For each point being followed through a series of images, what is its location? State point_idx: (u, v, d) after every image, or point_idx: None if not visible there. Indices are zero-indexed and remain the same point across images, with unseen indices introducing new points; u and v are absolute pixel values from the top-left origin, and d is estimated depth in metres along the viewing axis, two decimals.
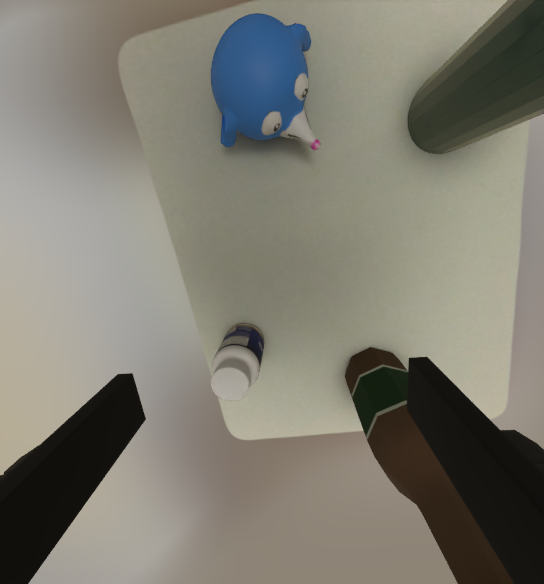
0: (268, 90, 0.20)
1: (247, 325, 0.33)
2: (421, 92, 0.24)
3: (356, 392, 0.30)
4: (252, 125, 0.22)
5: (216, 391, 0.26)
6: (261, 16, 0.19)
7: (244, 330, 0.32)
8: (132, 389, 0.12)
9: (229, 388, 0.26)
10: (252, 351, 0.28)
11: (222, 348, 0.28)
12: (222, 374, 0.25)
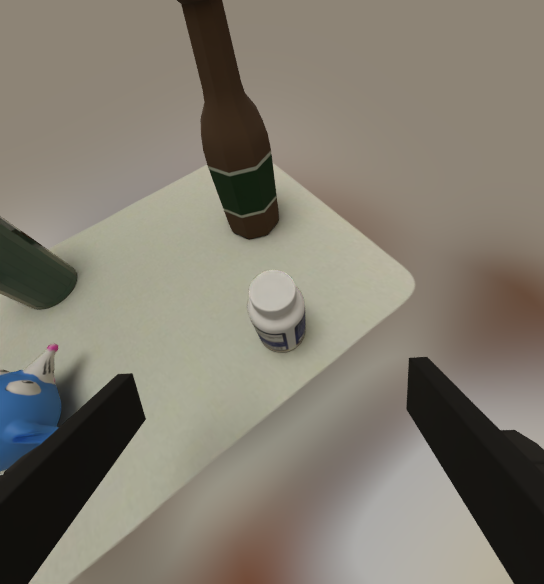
0: None
1: None
2: (29, 302, 0.33)
3: (254, 209, 0.32)
4: (22, 403, 0.22)
5: (288, 297, 0.20)
6: None
7: None
8: (132, 389, 0.12)
9: (276, 287, 0.21)
10: None
11: (260, 329, 0.23)
12: (262, 302, 0.20)
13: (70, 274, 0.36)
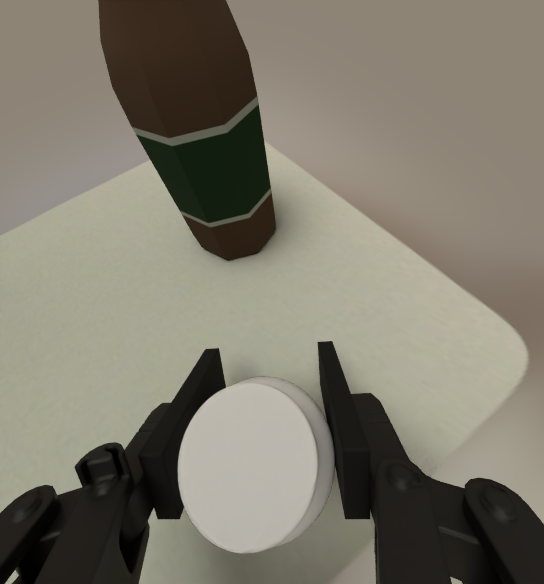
0: None
1: None
2: None
3: (230, 212, 0.18)
4: None
5: (294, 499, 0.06)
6: None
7: None
8: (219, 362, 0.14)
9: (261, 451, 0.07)
10: None
11: None
12: (214, 508, 0.07)
13: None
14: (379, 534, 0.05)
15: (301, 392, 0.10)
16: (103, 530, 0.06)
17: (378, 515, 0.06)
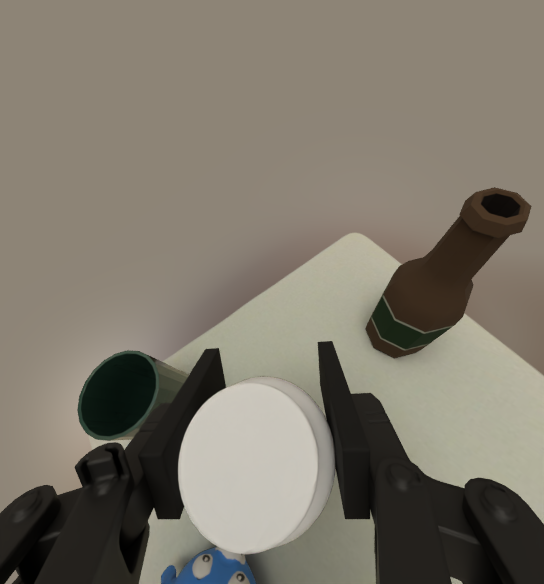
0: None
1: None
2: None
3: (421, 344, 0.30)
4: None
5: (295, 499, 0.06)
6: None
7: None
8: (219, 362, 0.14)
9: (261, 451, 0.07)
10: None
11: None
12: (214, 508, 0.07)
13: None
14: (379, 534, 0.05)
15: (301, 392, 0.10)
16: (103, 530, 0.06)
17: (378, 515, 0.06)
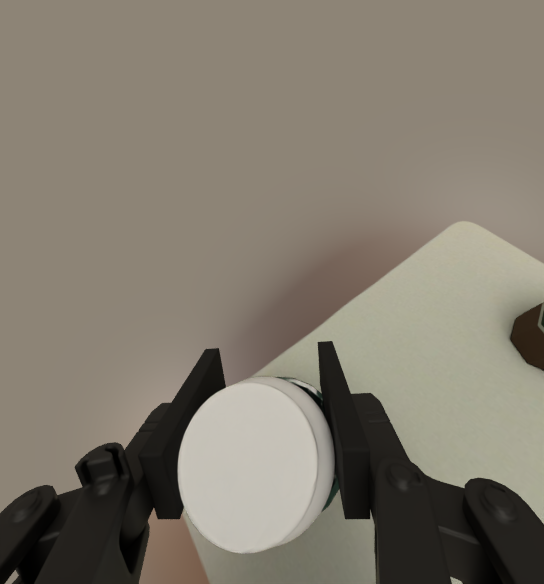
0: None
1: None
2: None
3: None
4: None
5: (295, 499, 0.06)
6: None
7: None
8: (219, 362, 0.14)
9: (260, 451, 0.07)
10: None
11: None
12: (214, 508, 0.07)
13: None
14: (379, 534, 0.05)
15: (301, 392, 0.10)
16: (103, 530, 0.06)
17: (378, 515, 0.06)
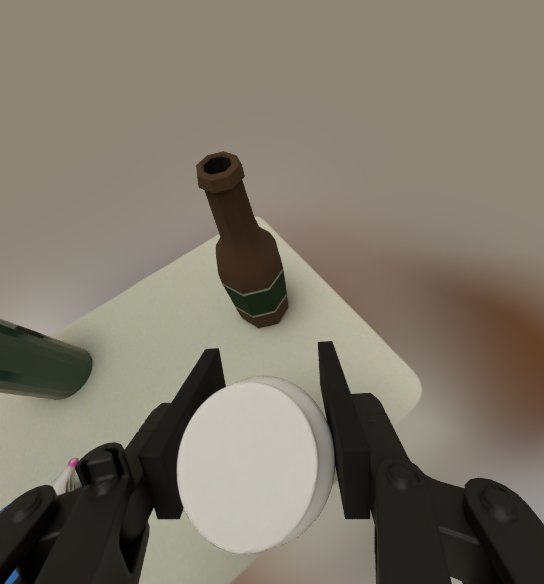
0: None
1: None
2: (47, 397, 0.34)
3: (265, 311, 0.33)
4: None
5: (294, 499, 0.06)
6: None
7: None
8: (219, 361, 0.14)
9: (260, 450, 0.07)
10: None
11: None
12: (213, 508, 0.06)
13: (86, 363, 0.37)
14: (379, 534, 0.05)
15: (301, 392, 0.10)
16: (103, 530, 0.06)
17: (378, 515, 0.06)
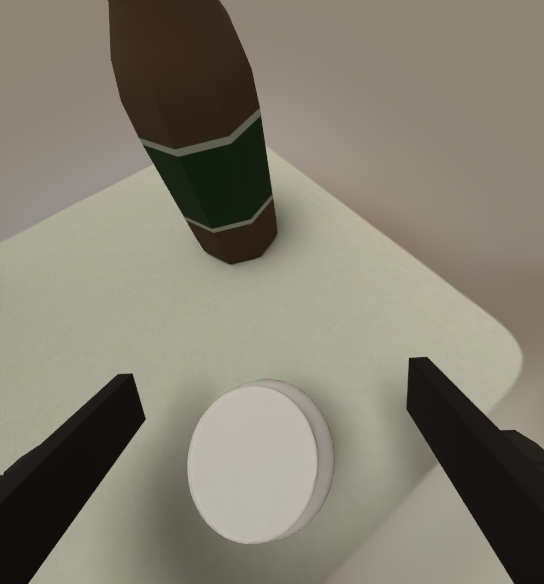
0: None
1: None
2: None
3: (233, 218, 0.18)
4: None
5: (296, 494, 0.07)
6: None
7: None
8: (132, 389, 0.12)
9: (264, 449, 0.08)
10: None
11: None
12: (221, 502, 0.07)
13: None
14: None
15: (302, 394, 0.10)
16: None
17: None
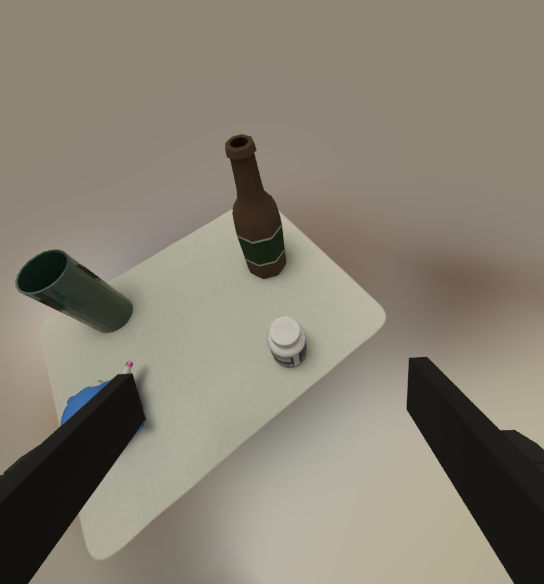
0: None
1: None
2: (101, 328, 0.45)
3: (268, 260, 0.43)
4: None
5: (295, 336, 0.32)
6: (61, 420, 0.33)
7: None
8: (132, 388, 0.12)
9: (287, 329, 0.32)
10: None
11: (276, 354, 0.34)
12: (278, 338, 0.32)
13: (128, 305, 0.47)
14: None
15: None
16: None
17: None
